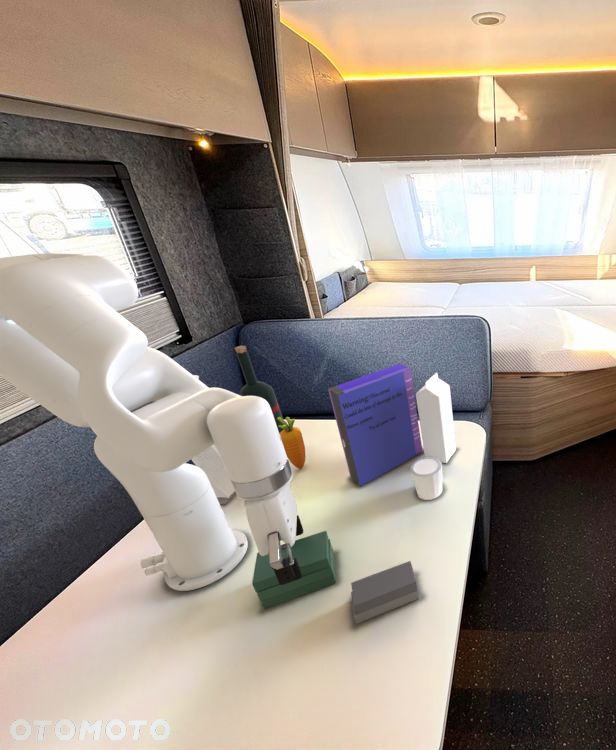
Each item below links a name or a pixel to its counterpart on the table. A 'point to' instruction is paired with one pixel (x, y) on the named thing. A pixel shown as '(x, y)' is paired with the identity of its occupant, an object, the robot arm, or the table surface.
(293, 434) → the carrot
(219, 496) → the skyscraper
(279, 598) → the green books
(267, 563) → the green flat block
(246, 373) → the wine bottle
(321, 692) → the table surface
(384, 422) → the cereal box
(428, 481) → the white cylinder
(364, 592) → the grey books
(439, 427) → the milk
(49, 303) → the robot arm
